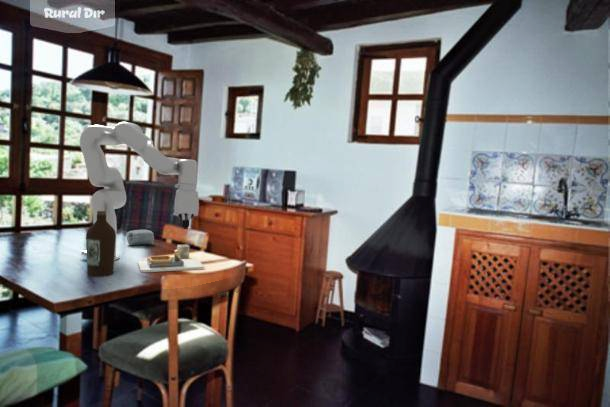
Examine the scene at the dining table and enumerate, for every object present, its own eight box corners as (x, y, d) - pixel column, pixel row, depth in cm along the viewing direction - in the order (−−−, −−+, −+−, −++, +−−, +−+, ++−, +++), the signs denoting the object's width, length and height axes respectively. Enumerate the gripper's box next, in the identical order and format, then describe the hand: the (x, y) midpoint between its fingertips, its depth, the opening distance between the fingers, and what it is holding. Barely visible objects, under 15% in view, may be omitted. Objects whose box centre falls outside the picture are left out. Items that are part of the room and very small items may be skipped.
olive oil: (101, 268, 175) (102, 209, 173) (121, 272, 172) (122, 211, 169) (79, 274, 166) (79, 211, 163) (99, 278, 162) (100, 213, 159)
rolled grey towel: (126, 241, 218) (130, 223, 222) (123, 246, 226) (127, 229, 230) (153, 246, 224) (157, 229, 228) (149, 251, 231) (153, 234, 236)
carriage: (149, 267, 178) (149, 253, 177) (146, 261, 187) (147, 248, 186) (183, 265, 184) (184, 252, 183) (179, 260, 193) (179, 247, 192)
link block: (178, 259, 200) (178, 246, 200) (176, 257, 204) (177, 244, 204) (189, 258, 202) (189, 246, 202) (187, 256, 207) (187, 244, 206)
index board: (140, 272, 173) (141, 269, 173) (137, 263, 188) (137, 260, 188) (204, 268, 185) (204, 266, 185) (196, 260, 199) (196, 258, 199)
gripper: (170, 187, 179) (169, 230, 181) (206, 188, 186) (204, 230, 188) (168, 186, 186) (166, 227, 188) (202, 187, 193) (200, 227, 194)
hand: (185, 228), depth 188 cm, fingers closed
